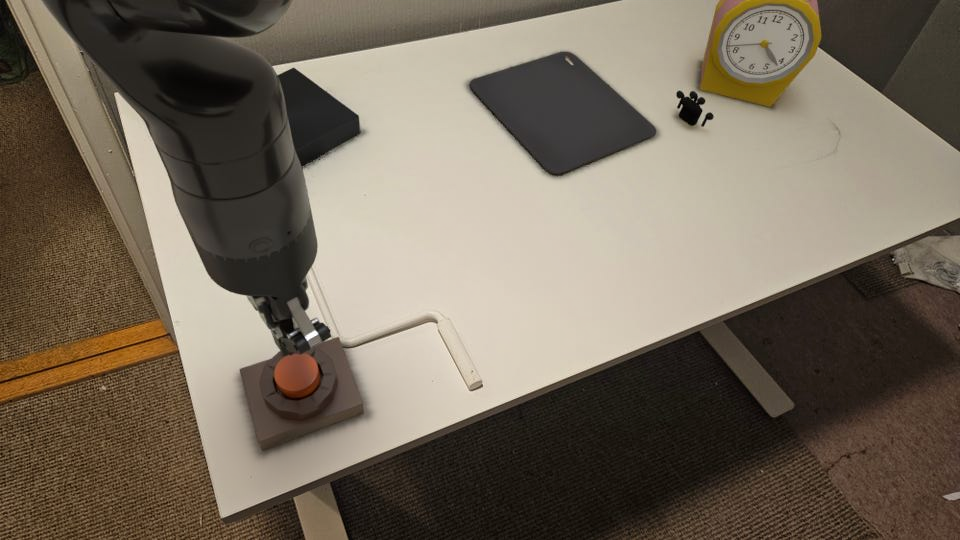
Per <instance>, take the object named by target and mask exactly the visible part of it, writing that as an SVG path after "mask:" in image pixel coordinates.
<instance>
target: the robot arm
mask: <svg viewBox="0 0 960 540" xmlns="http://www.w3.org/2000/svg"><path fill="white" fill-rule="evenodd" d="M41 2H42V4H43V5H44V6H45V8H46V10H48V12H49V13H50V14H51V16H52V17H53V18H54V19H55V21H56V22H57V24H59V26H60V28H61V29H62V30H63V31H64V32H65V33H66V34H67V35H68V36H69V37H70V39H71V40H72V41H73V42H74V43H75V45H76V46H77V48H79V49H80V50H81V52H82V53H83V54H84V55H85V56H86V57H87V59H89V60H90V61H91V63H92V64H93V65H94V66H95V67H96V69H97V70H98V71H99V72H100V73H101V74H102V76H104V78H105V79H106V80H107V82H109V84H110V85H111V86H112V87H113V89H114V90H115V91H116V92H117V93H118V94H119V95H120V96H121V97H122V99H123V100H124V101H125V102H126V103H127V104H128V105H129V106H130V107H131V108H132V109H133V110H134V111H135V112H136V113H137V115H138V116H139V117H140V118H141V119H142V120H143V122H144V124H145V126H146V129H147V130H148V133H149V136H150V137H151V139H152V141H153V144H154V147H155V148H156V151H157V153H158V155H159V157H160V158H159V159H161V162H162V164H163V166H164V169H165V171H166V173H167V176H168V179H169V182H170V187H171V192H172V196H173V200H174V202H175V205H176V207H177V209H178V212H179V214H180V217H181V219H182V221H183V223H184V225H185V227H186V230H187V231H188V234H189V236H190V238H191V240H192V243H193V245H194V247H195V249H196V251H197V254H198V256H199V258H200V260H201V263H202V264H203V267H204V269H205V271H206V273H207V275H208V276H209V278H210V279H211V280H212V281H213V282H214V283H215V284H216V285H217V286H218V287H220V288H222V289H224V290H225V291H228V292H230V293H233V294H236V295H240V296H246V299H247V300H248V302H249V303H250V305H251V306H252V308H253V309H254V310H255V311H257V312H258V314H259V317H260V319H261V320H262V322H263V323H264V324H265V326H266V327H267V329H268V330H270V333H271V335H272V340H273V342H274V343H275V345H276V347H277V348H278V349H279V351H281V352H282V354H283V355H284V356H288V355H290V356H291V355H293V354H295V353H296V354H299V355H302V354H303V353H305V352H307V351H308V350H310V349H312V348H313V347H315V346H317V345H319V344H320V343H322V342H324V341H327V340H330V339H331V338H332V334H331V329H330V328H329V327H330V326H328V325H326V324H325V323H324V322H320V320H319V318H318V317H314V318H312V319H311V318H310V317H309V315H308V313H307V310H308V309H309V306H310V299H309V296H308V293H307V290H308V288H309V283H308V279H307V275H308V274H309V272H310V270H311V268H312V267H313V265H314V264H315V261H316V258H317V254H318V249H319V248H318V246H319V245H318V238H317V233H316V228H315V224H314V217H313V212H312V208H311V202H310V197H309V192H308V186H307V182H306V177H305V173H304V170H303V166H301V164H300V161H299V159H298V156H297V154H296V151H295V148H294V144H293V140H292V135H291V130H290V125H289V120H288V115H287V108H286V104H285V99H284V95H283V90H282V86H281V83H280V80H279V78H278V75H279V74H277V72H276V70H275V69H274V67H273V65H272V64H271V63H270V62H269V61H268V60H267V59H266V58H265V57H264V56H263V55H261V54H260V53H258V52H256V51H254V50H252V49H250V48H248V47H246V46H244V45H241V44H240V43H236V42H234V41H231V40H228V39H235V38H237V39H238V38H241V39H242V38H247V37H248V38H249V37H253V36H256V35H259V34H261V33H264V32H265V31H267V30H269V29H270V28H272V27H273V26H275V24H277V23H278V22H279V20H281V19H282V18H283V17H284V15H285V14H286V13H287V11H288V10H289V8H290V7H291V5H292V2H293V0H41ZM224 38H226V39H224Z"/></svg>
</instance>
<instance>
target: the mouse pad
mask: <svg viewBox="0 0 960 540" xmlns="http://www.w3.org/2000/svg"><path fill="white" fill-rule="evenodd" d="M469 88H470V90H471V91H472V92H473V93H474V94H475V95H476V96H477V97H478V99H480V101H481V102H482V103H483V104H484V105H485V106H486V107H487V108H488V109H489V110H490V112H491V113H492V114H493V115H494V116H495V117H496V118H497V119H498V121H500V122H501V124H502V125H503V126H504V127H505V128H506V129H507V130H508V131H509V133H510V134H512V136H513V137H514V138H515V139H516V140H517V141H518V142H519V143H520V144H521V145H522V147H524V149H525V150H526V151H527V152H528V153H529V154H530V155H531V156H532V157H533V158H534V159H535V160H536V162H538V163H539V165H540V166H541V167H542V168H543V169H544V170H545V171H546V172H548V173H550V174H552V175H563V174H567V173H568V172H571V171H574V170H576V169H578V168H581V167H583V166H585V165H587V164H590V163H593V162H596V161H598V160H600V159H603V158H606V157H608V156H610V155H613V154H615V153H617V152H620V151H623V150H625V149H627V148H630V147H632V146H635V145H637V144H639V143H642V142H644V141H647V140H650V139H651V138H654V137H655V136H656V134H657V129H656V127H655V126H654V125H653V123H651V122H650V121H649V120H648V119H647V118H646V117H645V116H643V115H642V114H641V113H640V112H639V111H638V110H637V109H636V108H635V107H634V106H632V105H631V104H630V103H629V102H628V101H627V100H626V99H625V98H624V97H622V96H621V95H620V93H618V92H617V91H616V90H615V89H614V88H612V86H610V85H609V84H608V83H607V82H606V81H605V80H604V79H602V78H601V76H599V75H598V74H597V73H596V72H595V71H594V70H592V69H591V68H590V67H589V66H588V65H587V64H586V63H584V62H583V61H582V59H580V58H579V57H578V56H577V55H575V54H574V53H572V52H570V51H560V52H557V53H553V54H550V55H547V56H543V57H540V58H537V59H534V60H530V61H527V62H524V63H521V64H520V63H519V64H517V65H514V66H511V67H508V68H504V69H500V70H498V71H494V72H492V73H488V74H485V75H482V76H478V77H476V78H473V79H471V80H470V82H469Z"/></svg>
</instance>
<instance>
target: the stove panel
mask: <svg viewBox="0 0 960 540" xmlns="http://www.w3.org/2000/svg"><path fill="white" fill-rule="evenodd" d="M277 75H278V78H279V80H280V83H281V86H282V90H283V95H284V99H285V104H286V108H287V115H288V120H289V125H290V130H291V135H292V140H293V144H294V148H295V151H296V154H297V156H298V159H299V161H300V164H301V166H302V167H304V166H305V165H307V164H309V163H310V162H312V161H314V160H316V159H317V158H319V157H321V156H322V155H324V154H326V153H328V152H329V151H331V150H333V149H335V148H336V147H339V146H340V145H341V144H343V143H345V142H347V141H348V140H351V139H352V138H353V137H356V136H357V135H359V134H360V133H361V124H360V115H359V114H357V113H356V112H355V111H353V110H352V109H350V108H349V107H348V106H347V105H345V104H344V103H342V101H340V100H339V99H337V98H336V97H334V96H333V95H331V93H329V92H328V91H326V90H325V89H324V88H322V87H321V86H319V85H318V84H317V83H315V82H314V81H313V80H311V79H310V78H309V77H307V75H305V74H303V73H302V72H301V71H300V70H298V69H297V68H296V67H291V68H290V69H288V70H285V71H283V72H282V73H279V74H277Z"/></svg>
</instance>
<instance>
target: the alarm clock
mask: <svg viewBox="0 0 960 540" xmlns="http://www.w3.org/2000/svg"><path fill="white" fill-rule="evenodd" d="M818 4H819V3H818V0H719V1H717V4H716V5H715V9H714V13H713V18H712V22H711V26H710V30H709V34H708V39H707V43H706V46H705V51H704V55H703V60H702V64H701V74H700V83H699V84H700V86H699V90H701V91H703V92H704V91H705V92H709V93H713V94H716V95H720V96H723V97H724V96H725V97H729V98H733V99H736V100H741V101H745V102H749V103H752V104H757V105H761V106H765V107H768V108H770V107H772V106H773V104H774V103H775V102H776V101H777V99H778V98H779V97H781V95H782V94H783V93H784V92H785V90H786V89H787V88H788V87H789V86H790V85H791V83H792V82H793V81H794V80H795V79H796V77H798V75H800V73H801V72H802V70H804V68H805V67H806V66H807V65H808V64H809V63H810V62H811V61H812V59H814V57H815V56H816V54H817V50H818V48H819V45H820V44H821V40H822V29H821V19H820V13H819V5H818Z"/></svg>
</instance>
